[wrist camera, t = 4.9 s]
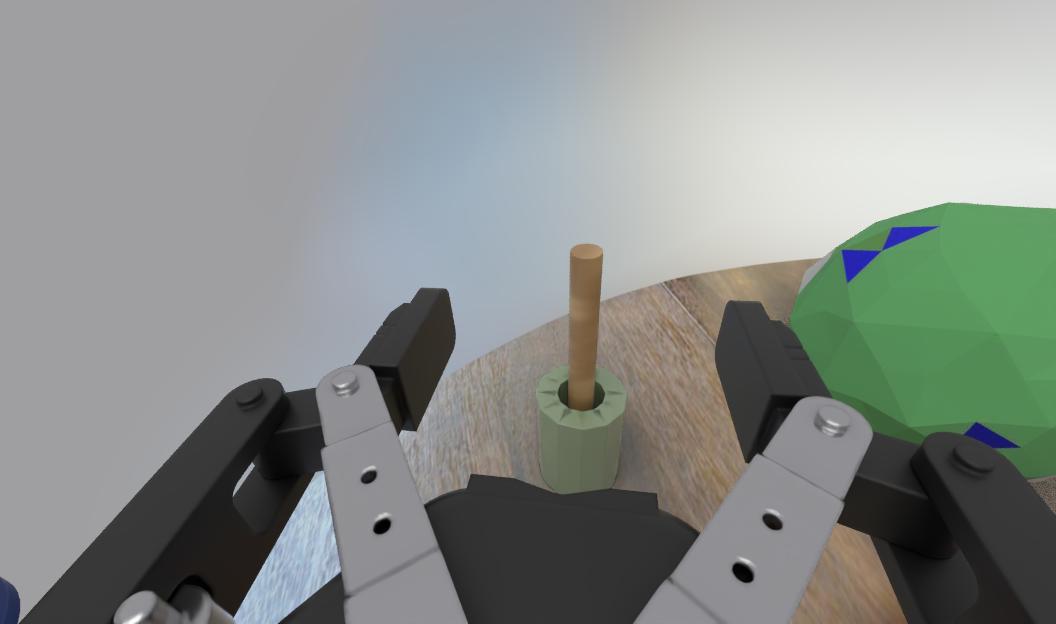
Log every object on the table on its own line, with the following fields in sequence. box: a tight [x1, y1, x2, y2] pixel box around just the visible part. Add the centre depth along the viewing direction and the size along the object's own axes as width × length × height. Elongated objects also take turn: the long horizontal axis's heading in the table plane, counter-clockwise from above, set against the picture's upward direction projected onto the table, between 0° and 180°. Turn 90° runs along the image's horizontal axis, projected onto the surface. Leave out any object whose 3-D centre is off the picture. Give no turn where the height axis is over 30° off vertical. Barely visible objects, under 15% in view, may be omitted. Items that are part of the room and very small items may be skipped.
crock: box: [535, 364, 628, 494], centre depth 32 cm, size 6×6×8 cm
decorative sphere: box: [789, 203, 1056, 482], centre depth 31 cm, size 19×20×20 cm
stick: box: [568, 244, 603, 412], centre depth 29 cm, size 2×2×18 cm
